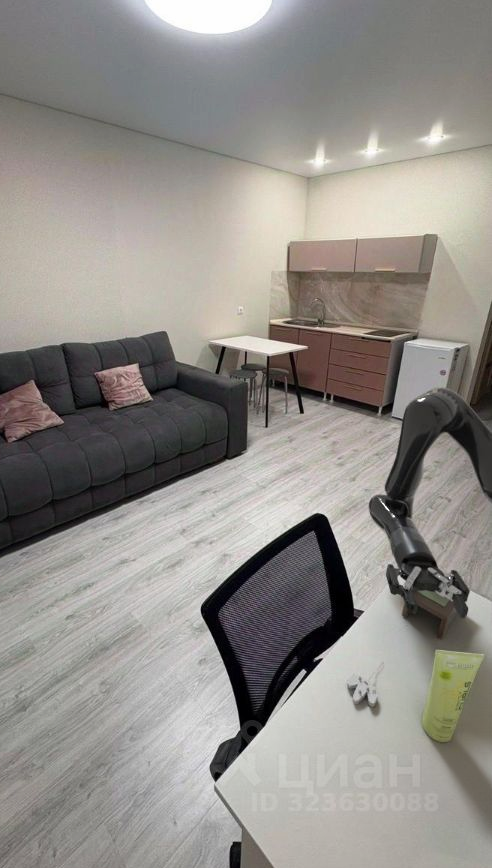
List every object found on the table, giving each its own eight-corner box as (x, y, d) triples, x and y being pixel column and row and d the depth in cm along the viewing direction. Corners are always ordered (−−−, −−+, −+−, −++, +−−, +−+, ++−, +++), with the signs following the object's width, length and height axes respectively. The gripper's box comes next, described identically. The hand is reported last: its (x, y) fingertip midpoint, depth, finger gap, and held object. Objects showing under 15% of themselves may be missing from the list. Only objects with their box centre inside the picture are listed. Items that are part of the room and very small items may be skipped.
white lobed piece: (343, 698, 78) (344, 689, 77) (355, 651, 87) (357, 642, 86) (373, 714, 75) (375, 704, 74) (383, 663, 85) (385, 654, 84)
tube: (440, 752, 70) (467, 673, 62) (413, 726, 73) (435, 649, 66) (457, 731, 73) (484, 654, 65) (430, 707, 76) (453, 632, 69)
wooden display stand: (421, 589, 104) (428, 562, 101) (459, 610, 98) (468, 582, 95) (401, 615, 96) (407, 587, 93) (441, 639, 90) (449, 610, 87)
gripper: (380, 535, 88) (403, 593, 73) (448, 541, 87) (486, 601, 72) (375, 563, 91) (395, 623, 76) (441, 568, 89) (475, 631, 74)
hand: (439, 612), depth 74 cm, fingers open, 8 cm apart
